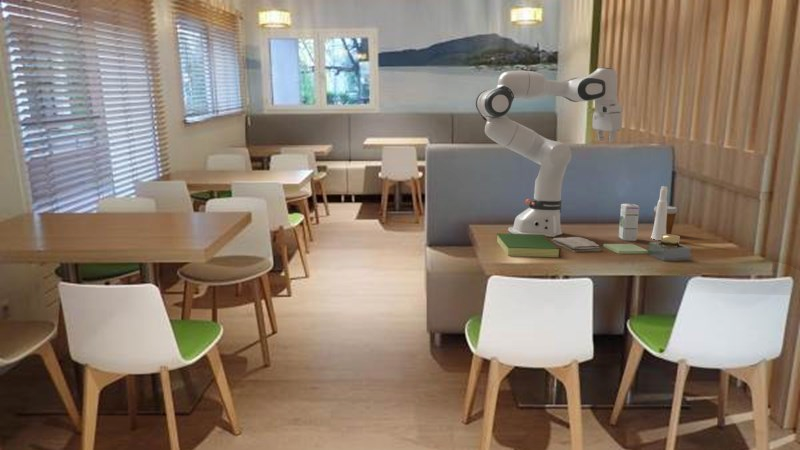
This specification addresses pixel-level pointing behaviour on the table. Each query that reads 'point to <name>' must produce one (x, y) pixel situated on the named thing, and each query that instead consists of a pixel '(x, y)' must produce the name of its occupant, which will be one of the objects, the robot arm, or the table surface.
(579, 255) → the table surface
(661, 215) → the cosmetic bottle
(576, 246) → the washcloth
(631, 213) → the syrup box
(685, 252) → the box
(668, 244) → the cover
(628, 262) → the table surface
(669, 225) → the disposable coffee cup
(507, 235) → the hardcover book
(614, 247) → the pad
